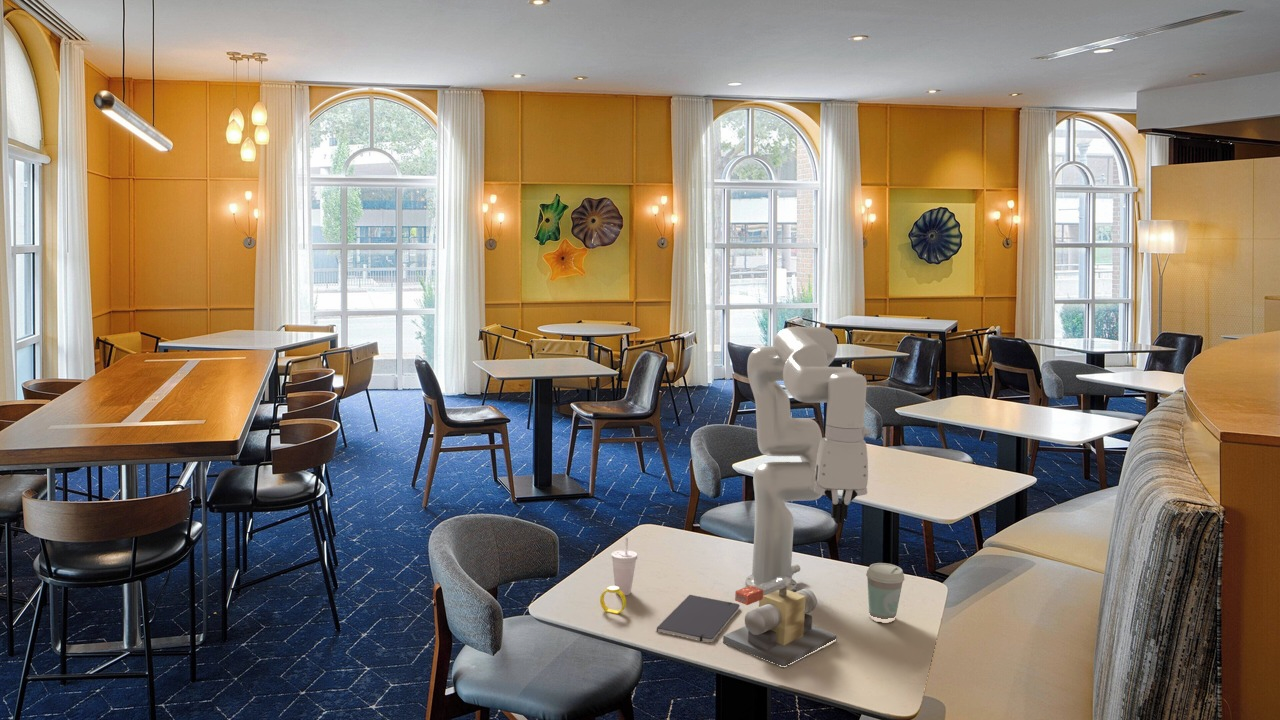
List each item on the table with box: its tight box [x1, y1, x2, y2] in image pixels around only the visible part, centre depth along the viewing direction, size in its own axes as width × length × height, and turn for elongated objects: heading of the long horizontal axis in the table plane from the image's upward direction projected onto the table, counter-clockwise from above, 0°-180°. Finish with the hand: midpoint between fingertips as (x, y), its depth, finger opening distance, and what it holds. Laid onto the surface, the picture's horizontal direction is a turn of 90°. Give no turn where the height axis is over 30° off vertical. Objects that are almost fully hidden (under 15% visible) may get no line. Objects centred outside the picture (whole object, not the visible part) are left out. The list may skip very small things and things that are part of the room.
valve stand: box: [722, 588, 837, 666], centre depth 200 cm, size 19×16×12 cm
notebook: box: [656, 594, 740, 643], centre depth 211 cm, size 13×2×21 cm
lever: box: [734, 576, 791, 606], centre depth 195 cm, size 16×3×2 cm, turn 134°
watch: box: [599, 585, 627, 615], centre depth 213 cm, size 6×3×6 cm, turn 68°
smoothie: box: [610, 536, 638, 596], centre depth 225 cm, size 6×6×14 cm
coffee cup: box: [865, 562, 905, 619], centre depth 215 cm, size 8×8×12 cm
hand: (838, 521), depth 191 cm, fingers closed
